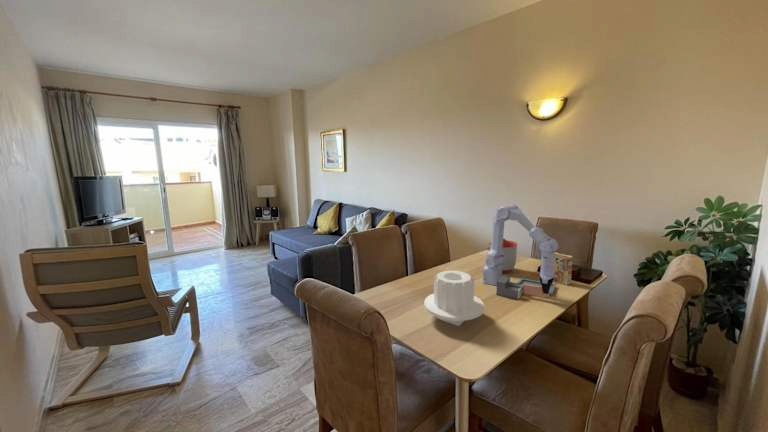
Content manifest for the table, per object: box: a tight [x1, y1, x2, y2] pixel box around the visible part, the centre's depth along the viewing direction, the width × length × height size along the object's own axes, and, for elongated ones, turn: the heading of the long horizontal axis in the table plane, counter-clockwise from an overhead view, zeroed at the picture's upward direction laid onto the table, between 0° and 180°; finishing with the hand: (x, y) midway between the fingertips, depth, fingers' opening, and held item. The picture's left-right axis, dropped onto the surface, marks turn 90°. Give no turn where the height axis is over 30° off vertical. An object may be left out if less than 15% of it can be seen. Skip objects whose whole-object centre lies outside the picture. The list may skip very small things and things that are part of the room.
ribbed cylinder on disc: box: [423, 269, 485, 327], centre depth 133 cm, size 25×25×19 cm
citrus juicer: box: [486, 237, 518, 274], centre depth 187 cm, size 16×17×20 cm
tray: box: [517, 277, 557, 297], centre depth 162 cm, size 17×13×2 cm
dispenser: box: [496, 274, 524, 300], centre depth 156 cm, size 10×10×7 cm
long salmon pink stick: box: [523, 284, 550, 298], centre depth 150 cm, size 11×1×4 cm, turn 55°
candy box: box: [553, 252, 574, 286], centre depth 167 cm, size 9×4×15 cm, turn 34°
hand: (545, 292), depth 147 cm, fingers closed on long salmon pink stick, 1 cm apart
